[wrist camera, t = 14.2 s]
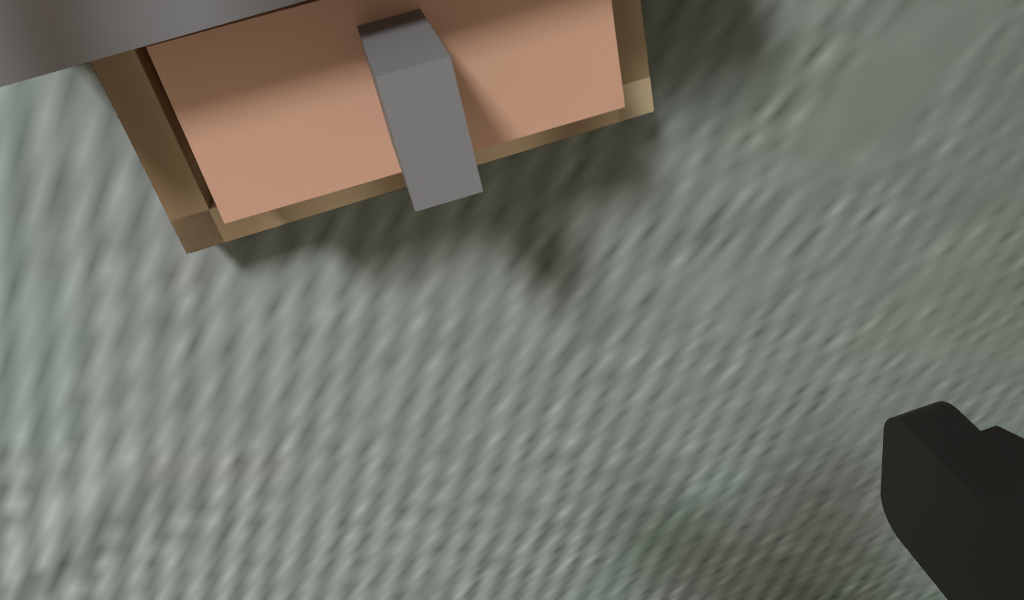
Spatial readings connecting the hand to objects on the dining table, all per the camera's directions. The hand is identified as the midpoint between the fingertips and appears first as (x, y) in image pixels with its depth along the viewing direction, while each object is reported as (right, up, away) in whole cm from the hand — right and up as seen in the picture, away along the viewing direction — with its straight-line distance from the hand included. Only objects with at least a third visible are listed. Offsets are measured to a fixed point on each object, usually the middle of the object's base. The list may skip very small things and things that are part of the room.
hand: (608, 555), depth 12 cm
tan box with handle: (-7, +15, +23) cm, 28 cm away
